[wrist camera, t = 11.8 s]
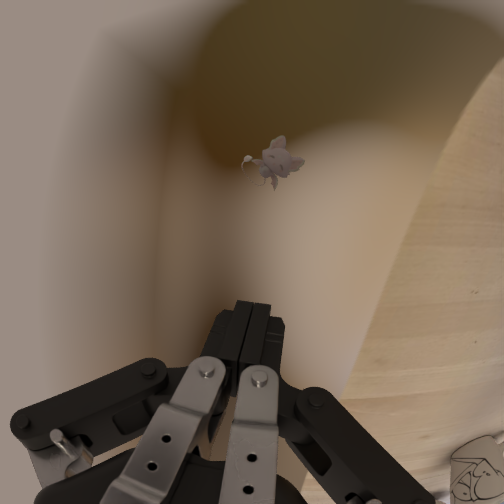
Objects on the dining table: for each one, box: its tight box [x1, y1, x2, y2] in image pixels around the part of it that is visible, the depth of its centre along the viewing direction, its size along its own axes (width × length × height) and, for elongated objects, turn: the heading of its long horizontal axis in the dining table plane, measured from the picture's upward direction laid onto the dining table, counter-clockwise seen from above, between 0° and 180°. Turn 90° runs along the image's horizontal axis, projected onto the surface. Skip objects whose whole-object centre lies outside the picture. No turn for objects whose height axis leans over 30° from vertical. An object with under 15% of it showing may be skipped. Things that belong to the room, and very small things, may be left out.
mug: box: [450, 436, 504, 504], centre depth 18 cm, size 11×8×10 cm
